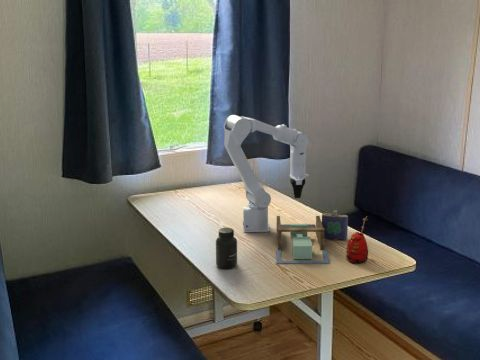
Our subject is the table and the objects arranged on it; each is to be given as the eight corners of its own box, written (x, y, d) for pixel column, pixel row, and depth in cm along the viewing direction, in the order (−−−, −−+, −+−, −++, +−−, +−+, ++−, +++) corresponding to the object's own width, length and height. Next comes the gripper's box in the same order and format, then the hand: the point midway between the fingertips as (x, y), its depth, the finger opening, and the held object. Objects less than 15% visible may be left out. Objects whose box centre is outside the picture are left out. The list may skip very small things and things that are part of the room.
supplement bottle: (235, 270, 167) (234, 234, 164) (213, 269, 168) (212, 233, 165) (239, 261, 174) (238, 226, 170) (219, 260, 175) (217, 225, 172)
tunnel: (277, 249, 182) (278, 229, 180) (276, 232, 197) (276, 213, 195) (324, 249, 181) (324, 229, 179) (319, 232, 197) (319, 213, 195)
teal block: (293, 258, 174) (293, 245, 173) (290, 235, 193) (290, 223, 192) (311, 258, 174) (312, 245, 172) (306, 235, 193) (307, 223, 191)
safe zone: (276, 263, 171) (276, 262, 171) (275, 250, 181) (275, 249, 181) (330, 263, 171) (330, 262, 171) (326, 250, 181) (326, 249, 181)
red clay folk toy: (344, 255, 177) (345, 212, 173) (365, 255, 177) (367, 212, 173) (347, 264, 170) (349, 220, 166) (370, 264, 169) (372, 220, 165)
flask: (347, 238, 191) (348, 210, 188) (346, 241, 188) (347, 212, 185) (321, 236, 193) (322, 208, 190) (320, 239, 191) (321, 210, 188)
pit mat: (278, 230, 199) (278, 230, 199) (278, 225, 204) (278, 224, 204) (316, 230, 198) (316, 230, 198) (314, 225, 204) (314, 224, 204)
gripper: (310, 168, 194) (309, 203, 198) (307, 158, 208) (306, 191, 212) (290, 168, 194) (290, 203, 198) (288, 158, 208) (288, 192, 212)
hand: (297, 197), depth 205 cm, fingers closed
